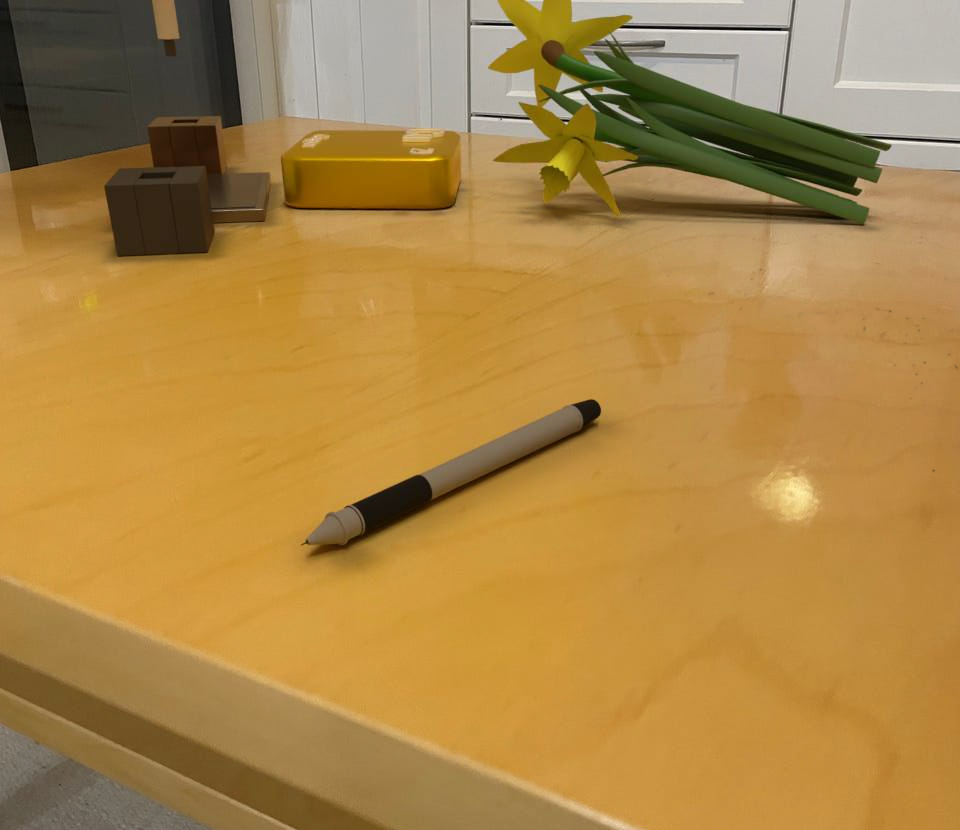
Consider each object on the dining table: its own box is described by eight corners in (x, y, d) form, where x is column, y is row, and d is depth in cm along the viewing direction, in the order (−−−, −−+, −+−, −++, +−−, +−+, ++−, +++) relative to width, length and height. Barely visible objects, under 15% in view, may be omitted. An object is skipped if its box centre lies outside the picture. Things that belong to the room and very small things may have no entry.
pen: (604, 425, 43) (606, 399, 43) (313, 568, 33) (310, 536, 32) (581, 417, 44) (583, 391, 43) (291, 553, 34) (287, 522, 33)
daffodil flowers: (878, 261, 70) (431, 117, 70) (807, 306, 85) (438, 187, 85) (944, 49, 70) (500, -94, 71) (863, 130, 85) (495, 12, 85)
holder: (117, 256, 68) (103, 185, 66) (131, 234, 74) (119, 168, 71) (207, 252, 69) (197, 182, 67) (214, 231, 75) (205, 165, 72)
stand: (155, 180, 92) (146, 126, 90) (164, 168, 98) (156, 117, 95) (222, 178, 93) (215, 124, 91) (227, 166, 99) (220, 115, 96)
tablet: (113, 227, 76) (111, 213, 75) (143, 186, 90) (141, 175, 89) (264, 221, 78) (263, 207, 77) (270, 182, 91) (269, 171, 91)
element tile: (313, 175, 94) (309, 124, 92) (462, 176, 94) (461, 125, 92) (280, 209, 81) (274, 151, 79) (453, 210, 81) (452, 152, 78)
